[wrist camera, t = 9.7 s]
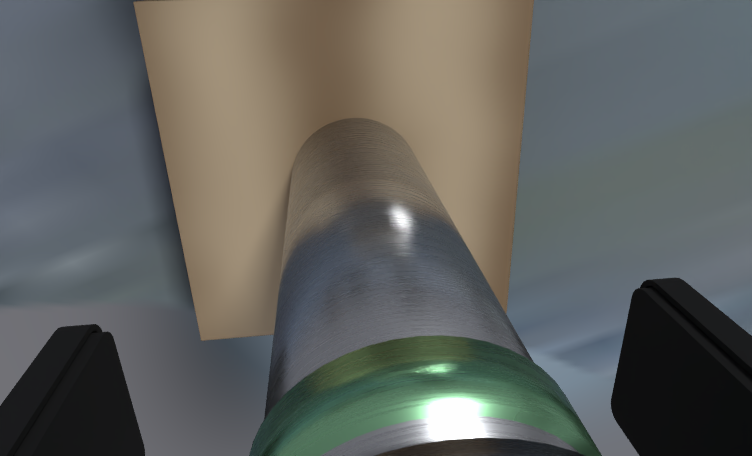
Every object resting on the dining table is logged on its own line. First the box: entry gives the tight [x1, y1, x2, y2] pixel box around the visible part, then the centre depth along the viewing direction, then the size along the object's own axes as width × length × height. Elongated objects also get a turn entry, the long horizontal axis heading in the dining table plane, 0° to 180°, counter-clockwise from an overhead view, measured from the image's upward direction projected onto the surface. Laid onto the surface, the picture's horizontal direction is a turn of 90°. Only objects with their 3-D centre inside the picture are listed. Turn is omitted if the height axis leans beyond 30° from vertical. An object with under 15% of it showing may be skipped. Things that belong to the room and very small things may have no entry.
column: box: [249, 118, 602, 456], centre depth 12 cm, size 5×5×15 cm
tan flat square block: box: [134, 0, 534, 341], centre depth 20 cm, size 12×12×3 cm
